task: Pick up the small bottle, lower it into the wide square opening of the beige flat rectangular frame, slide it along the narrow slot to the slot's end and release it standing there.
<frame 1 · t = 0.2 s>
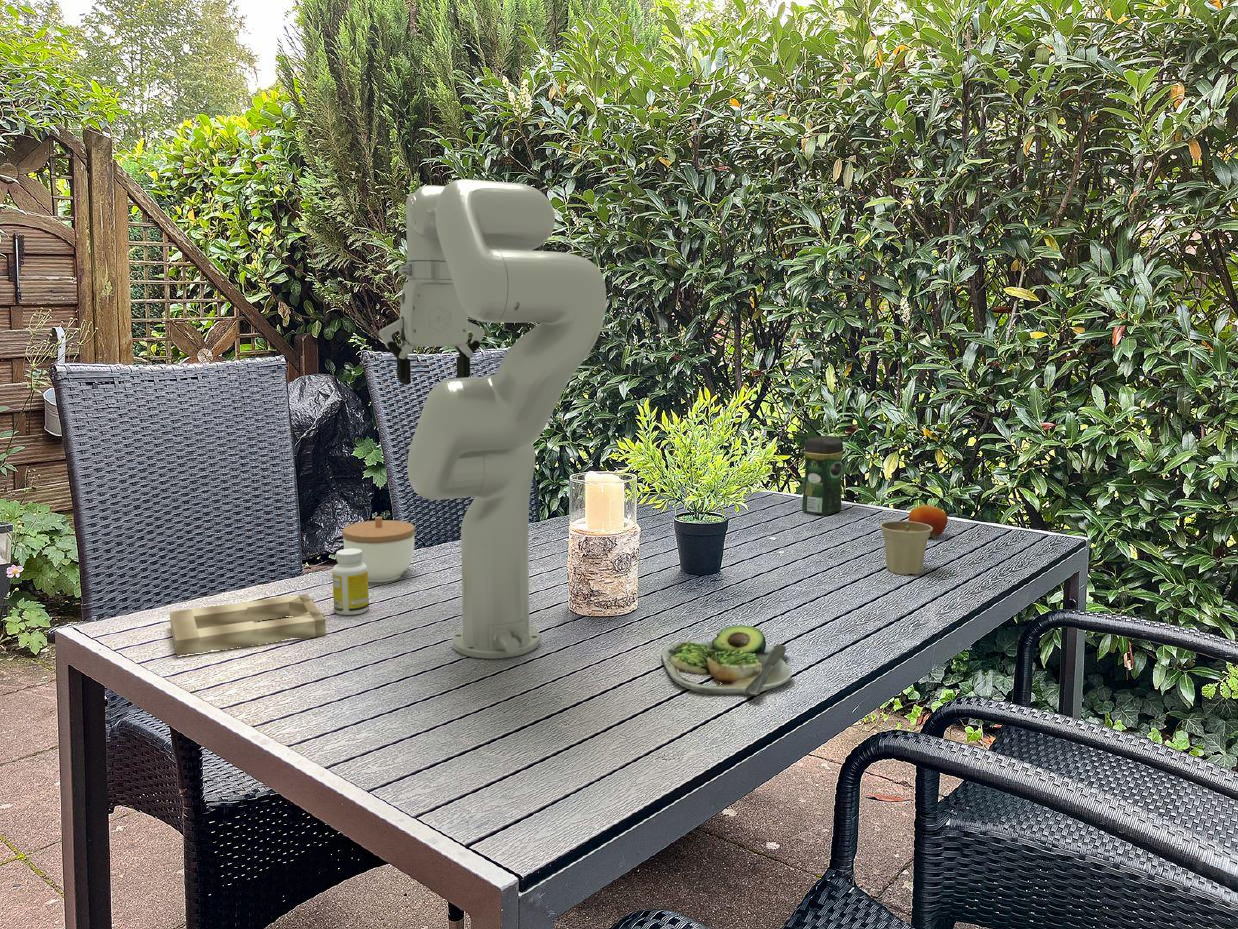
hand: (434, 382, 150), 36 cm above the table, tool pointing down, fingers open, 9 cm apart
beige flat rectangular frame: (247, 631, 140), on the table
lidded bowl: (380, 578, 169), on the table
supplement bottle: (351, 612, 150), on the table
fruit: (926, 537, 203), on the table
coffee jar: (820, 512, 228), on the table
flower pot: (903, 572, 176), on the table
avocado toast plate: (726, 673, 127), on the table
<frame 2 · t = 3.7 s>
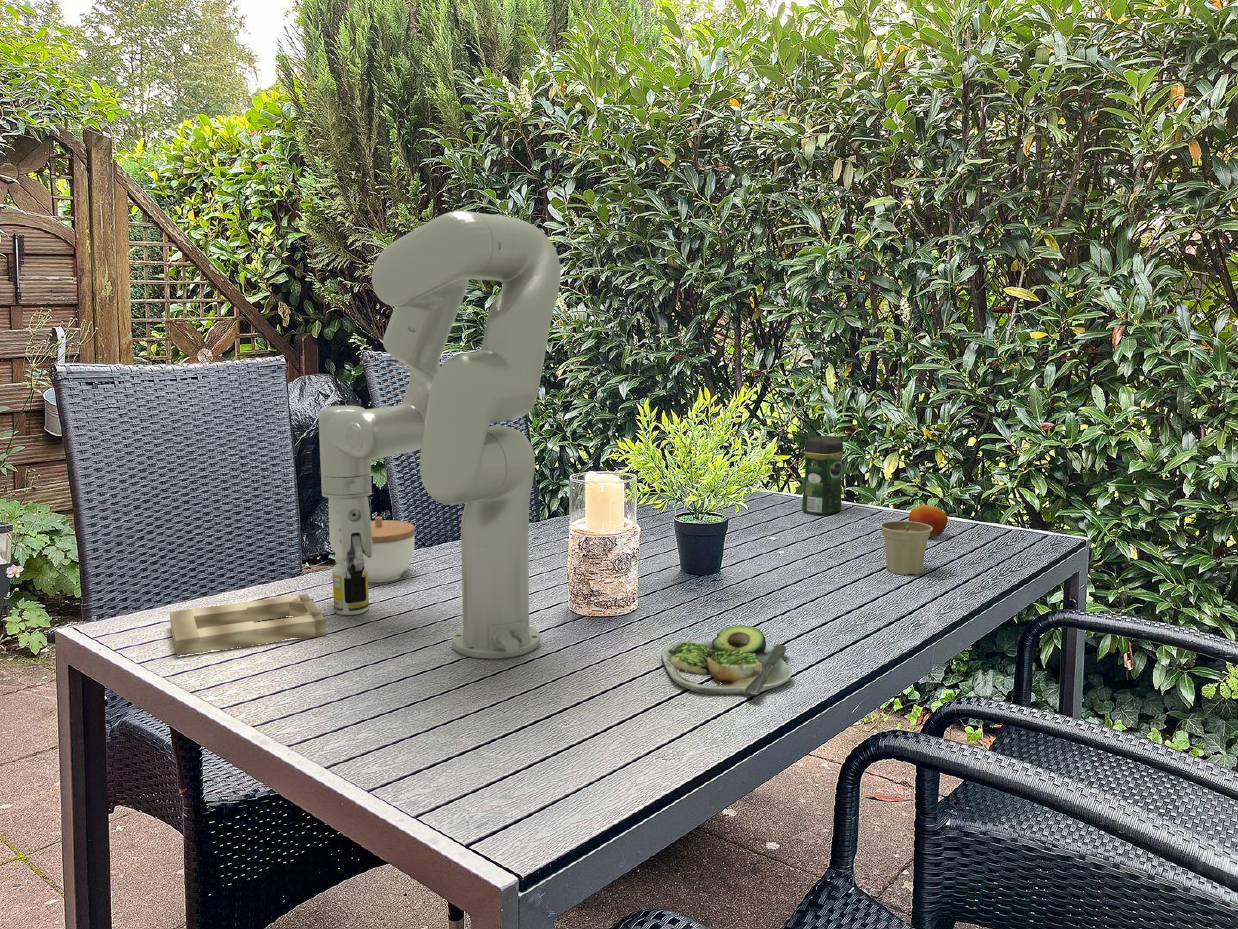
hand: (350, 595, 150), 3 cm above the table, tool pointing down, fingers closed on supplement bottle, 5 cm apart
supplement bottle: (351, 611, 150), on the table, touching gripper
everything else where it was.
when the fingers open (3 cm above the table, at t = 10.4 s): supplement bottle stays where it is, resting in beige flat rectangular frame.
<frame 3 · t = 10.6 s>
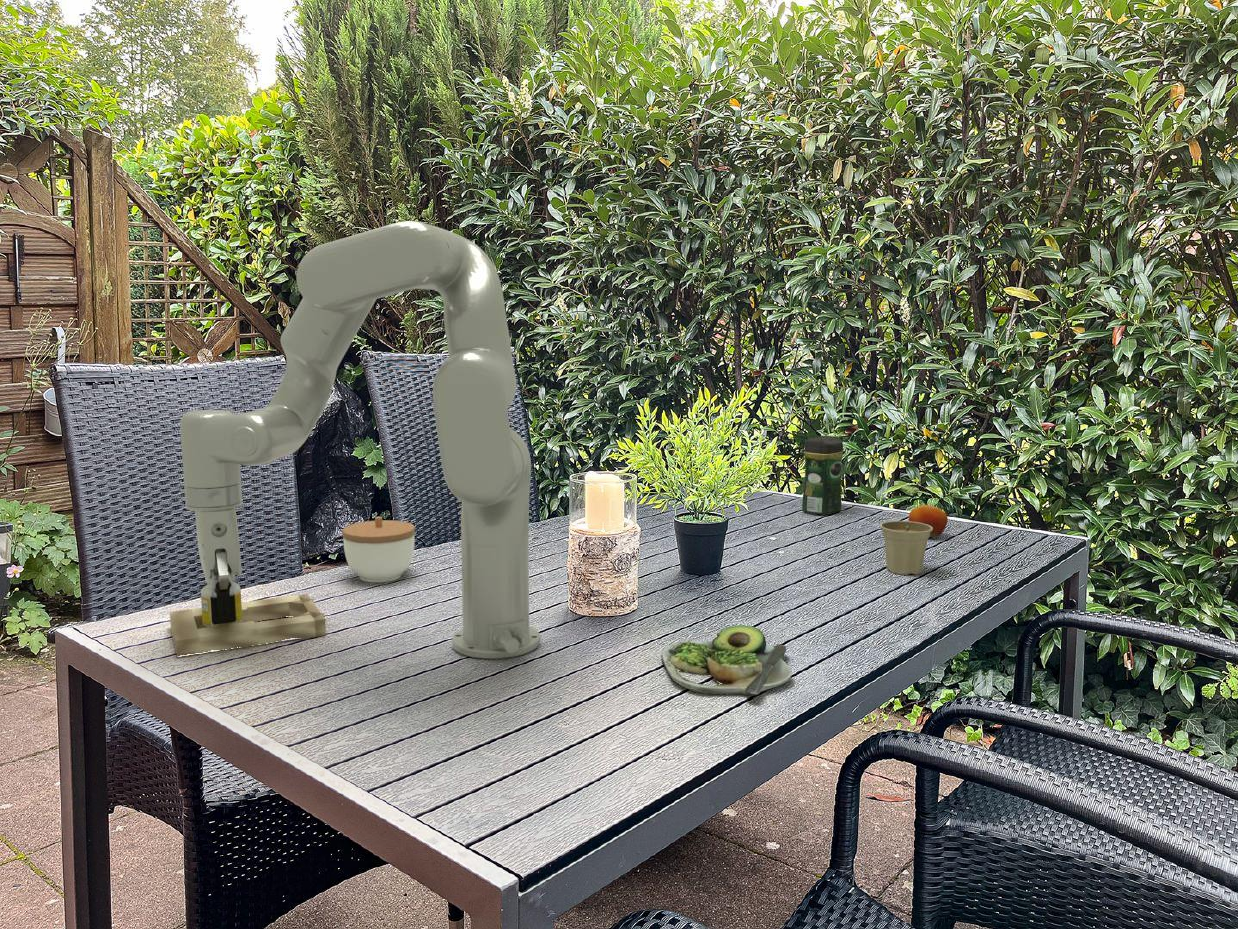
hand: (221, 614, 138), 3 cm above the table, tool pointing down, fingers open, 7 cm apart
supplement bottle: (223, 636, 138), resting in beige flat rectangular frame
everything else where it was.
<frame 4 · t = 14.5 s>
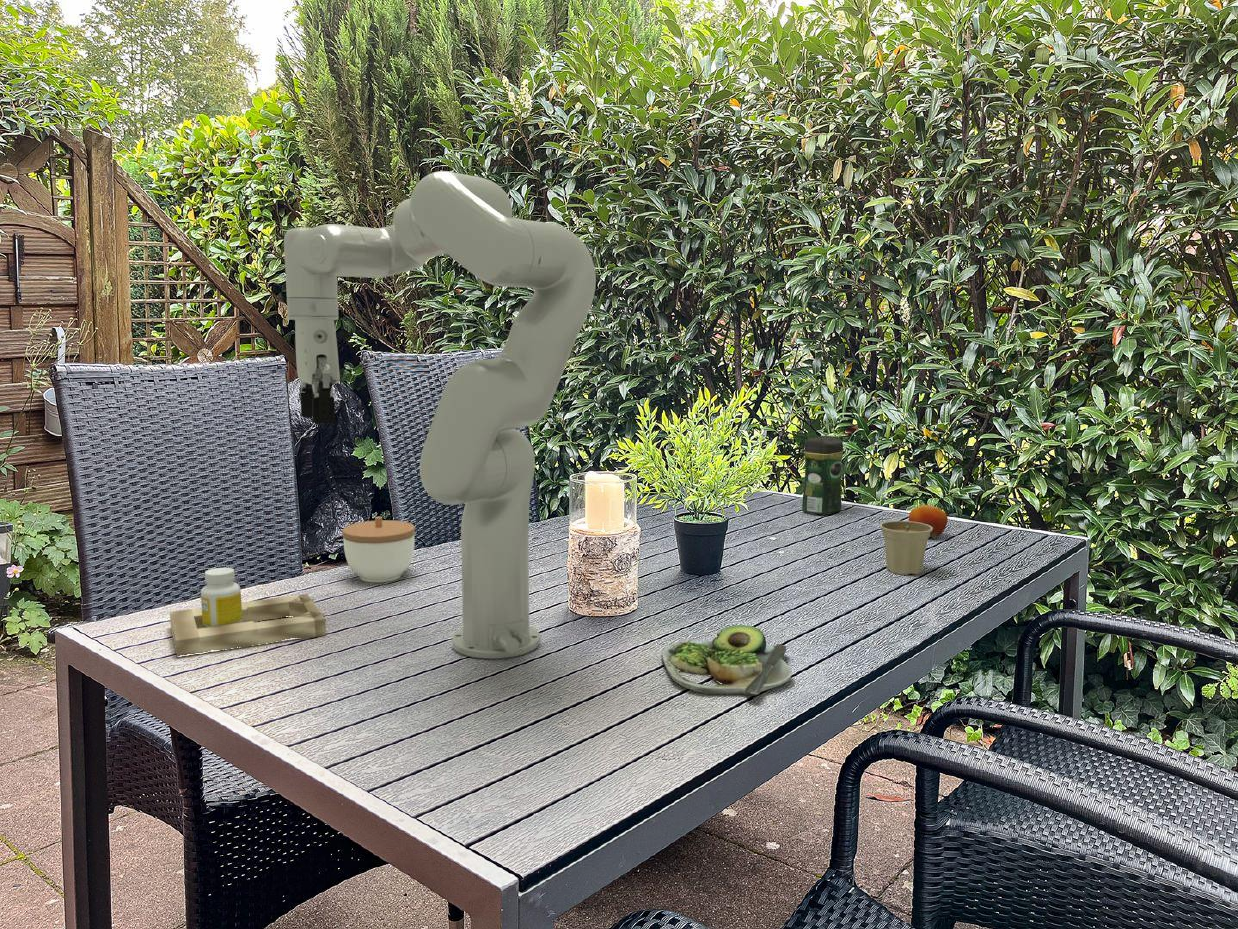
hand: (317, 420, 148), 30 cm above the table, tool pointing down, fingers open, 9 cm apart
nothing on the table moved.
at the end: supplement bottle 0.4 cm from the target spot on the beige flat rectangular frame, point 0.0 cm above the beige flat rectangular frame's base; supplement bottle tilted 0°; the gripper is holding nothing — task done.
